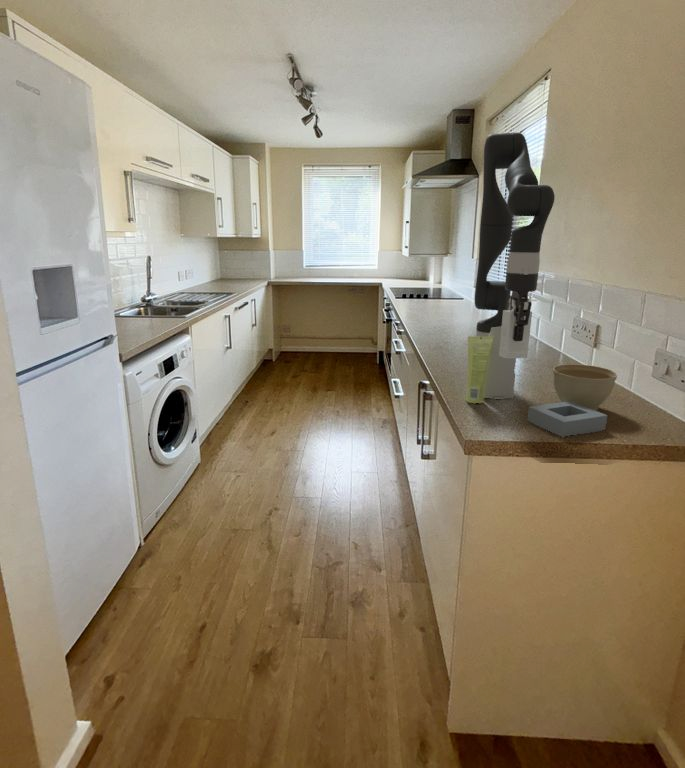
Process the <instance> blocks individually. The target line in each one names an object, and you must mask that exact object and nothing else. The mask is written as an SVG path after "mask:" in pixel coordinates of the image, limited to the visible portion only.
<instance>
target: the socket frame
mask: <svg viewBox="0 0 685 768" xmlns="http://www.w3.org/2000/svg"><path fill="white" fill-rule="evenodd" d="M527 413H528V414H527V422H528V421H529V422H528V423H530V422H531V423H530V424H532V423H533V424H532V425H535V426H536V427H538V428H541V429H543V430H545V429H546V431H547V430H548V431H547V432H549V431H550V433H551V432H552V433H551V434H553V433H555V434H554V435H556V434H557V435H556V436H558V435H559V436H558V437H560V436H561V437H560V438H566V437H565V436H568V437H571V436H570V435H574V436H578V435H577V434H580V435H585V433H586V434H591V432H592V433H597V432H603V431H606V427H607V426H606V425H607V421H608V420H607V419H608V414H605V413H603V412H600V411H598V410H597V411H595V410H592V409H590V408H587V407H584V406H582V405H579V404H577V403H574V402H571V401H567V402H561V401H560V402H553V403H552V402H551V403H546V404H541V405H540V404H538V405H531V406H528V412H527ZM602 430H603V431H602Z"/></svg>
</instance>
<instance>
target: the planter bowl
mask: <svg viewBox="0 0 685 768" xmlns="http://www.w3.org/2000/svg"><path fill="white" fill-rule="evenodd" d="M552 372H553V376H552V378H553V379H552V381H553V387H554V390H555V392H556V394H557V396H558V399H560V402H567V401H571V402H574V403H577V404H579V405H582V406H584V407H587V408H590V409H592V410H595V411H598V409H599V407H600V406H601V405H602V404H603V403H605V401H606V400H607V399H608V398H609V397H610V394H611V393H612V391H613V389H614V386H615V382H616V380H617V377H618V374H617V372H615V371H613V370H611V369H608V368H605V367H601V366H596V365H589V364H588V365H587V364H582V363H581V364H578V363H577V364H575V363H570V364H568V363H567V364H566V363H565V364H559V365H556V366H553V369H552Z"/></svg>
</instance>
